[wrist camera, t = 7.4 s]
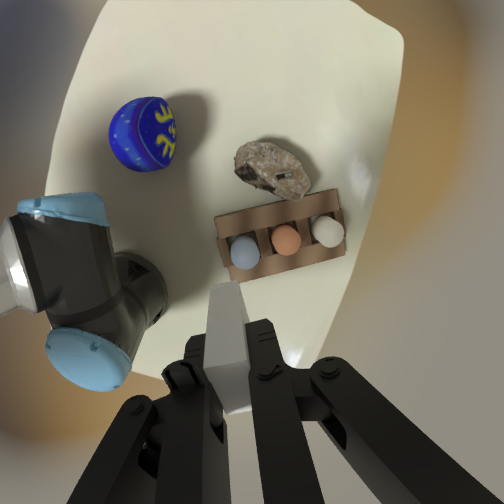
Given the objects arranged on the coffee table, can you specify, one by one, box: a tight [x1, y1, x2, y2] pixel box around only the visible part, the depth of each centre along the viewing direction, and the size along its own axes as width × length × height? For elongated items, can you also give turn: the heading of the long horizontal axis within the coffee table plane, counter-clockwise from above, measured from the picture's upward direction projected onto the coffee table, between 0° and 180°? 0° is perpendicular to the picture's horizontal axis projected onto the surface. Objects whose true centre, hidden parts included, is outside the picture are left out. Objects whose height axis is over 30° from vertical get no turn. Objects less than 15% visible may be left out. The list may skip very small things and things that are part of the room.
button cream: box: [311, 216, 344, 248], centre depth 45 cm, size 4×4×4 cm
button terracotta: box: [270, 223, 301, 256], centre depth 46 cm, size 4×4×4 cm
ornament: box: [109, 97, 176, 172], centre depth 34 cm, size 11×9×15 cm
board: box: [214, 189, 346, 283], centre depth 47 cm, size 22×12×2 cm, turn 103°
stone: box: [234, 141, 311, 201], centre depth 41 cm, size 7×12×7 cm, turn 70°
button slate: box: [231, 235, 260, 270], centre depth 45 cm, size 4×4×4 cm
